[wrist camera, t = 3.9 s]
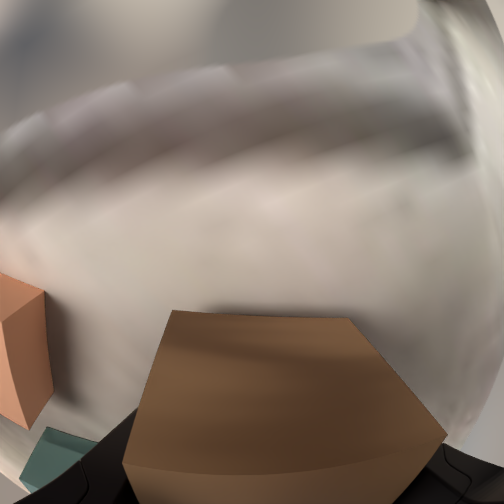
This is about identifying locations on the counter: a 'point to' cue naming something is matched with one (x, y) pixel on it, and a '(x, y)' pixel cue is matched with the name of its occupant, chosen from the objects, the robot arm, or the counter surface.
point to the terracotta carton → (23, 352)
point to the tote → (53, 458)
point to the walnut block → (274, 416)
